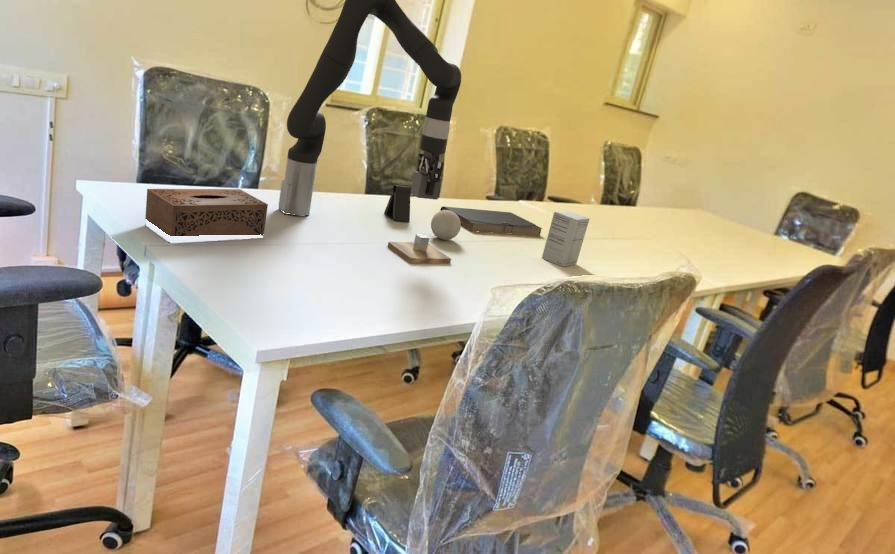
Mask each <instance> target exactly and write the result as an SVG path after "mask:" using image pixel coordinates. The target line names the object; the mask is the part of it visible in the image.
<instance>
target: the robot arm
mask: <svg viewBox="0 0 895 554" xmlns="http://www.w3.org/2000/svg"><path fill="white" fill-rule="evenodd" d="M369 15H371V16H374V17H375V18H377V20H379V21H381V22H382V23H383V24H384V25H385V26H386V27H387V28H388V29H389V30H390V31H391V32H392V34H393V35H394V37H395V39H396V41H397V42H398V44H399V45H400V46H401V48H402V49H403V50H404V52H405V54H407V55H408V56H409V58H411V59H412V60H413V61H414V63H415V64H417V65H418V66H419V68H420V70H421V71H422V72H423V74H424V75H425V77H426V78H427V80H428V81H429V82H430V84H432V85H433V86H435V87H436V88H435V92H434V94H433V96H431V97H430V99H429V101H428V104H427V109H426V113H425V114H426V115H425V118H424V122H423V126H422V132H421V138H420V144H419V149H420V150H421V151H422V152H419V153H418V157H417V164H416V171H420V169H426V174H427V175H428V182H427V187H426V192H425V194H426V195H430V196H432V195H433V193H434V187H435V183H437V182H439V181H440V177H441V178H442V173H443V168H444V161H440V155H444V154H445V153H446V150H447V145H448V140H449V134H450V128H451V127H450V125H451V118H452V113H453V107H454V103H455V102H456V99H457V96H458V94H459V90H460V88H461V83H462V73H461V70H460V68H459V66H457V65H456V64H454V63H451V62H448V61H446V60H445V59H444V58H443V57H442V56H441V54H440V53H439V50H438V48H437V47H436V45H435V44H434V42H432V41H431V40H430V39H429V37H427V36H426V34H425V33H423V31H422V30H421V29H420V28H419V27H418V26H417V25H416V24H415V23H414V22H413V21H412V20H411V19H410V17H408V16H407V14H406V13H405V12H404V11H403V9H402V7H401V6H400V5H399V4H398V2H397V1H396V0H344V3H343V6H342V9H341V11H340V15H339V16H338V20H337V21H336V23H335V25H334V27H333V29H332V32H331V34H330V36H329V38H328V41H327V43H326V44H325V46H324V48H323V50H322V52H321V54H320V56H319V58H318V60H317V62H316V65H315V67H314V70H313V71H312V74H311V75H310V77H309V79H308V81H307V83H306V85H305V87H304V89H303V91H302V92H301V94H300V96H299V97H298V99H297V101H296V102H295V104H294V105H293V107H292V108H291V110H290V112H289V114H288V116H287V119H286V129H287V132H288V134H289V135H290V136H291V137H292V138H294V139H297V140H296V141H295V142H296V143H294V145H293V146H291V147H290V148H289V149H288V152H287V155H286V157H287V158H286V165H285V171H284V180H283V179H282V180H281V186H280V192H279V198H278V199H279V200H278V207H279V208H280V209H281V210H282V211H284V212H285V213H290V214H295V215H304V216H303V217H306V216H305V215H308V216H309V215H310V212H311V205H312V199H313V198H312V197H313V194H314V193H313V192H314V185H315V179H316V172H317V165H318V161H319V160H318V159H319V156H321V153H322V149H323V145H324V141H325V135H326V128H327V127H326V126H327V123H326V117H325V116H324V114H323V112H322V111H320V110H321V107H322V106H323V103H325V101H326V100H327V99H328V98H329V97H330V96H331V95H332V94H333V93H335V91H336V90H337V89H338V88H339V87H340V86H342V84H343V83H344V82H345V80H346V78H347V77H348V75H349V73H350V71H351V69H352V67H353V66H354V63H355V58H356V54H357V48H358V47H357V46H358V38H359V34H360V31H361V29H362V27H363V25H364V24H365V21H366V19H367V18H368V16H369ZM437 175H438V176H437Z"/></svg>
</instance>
